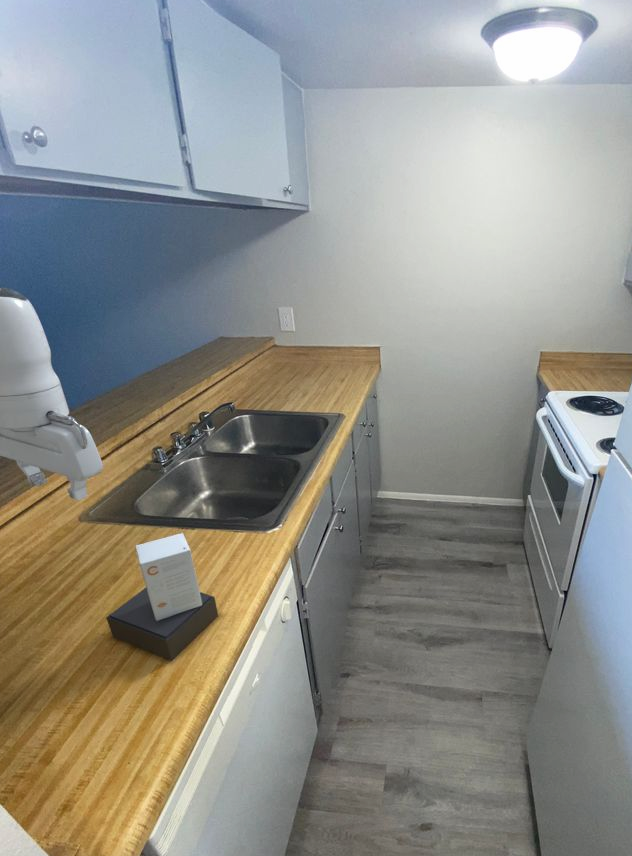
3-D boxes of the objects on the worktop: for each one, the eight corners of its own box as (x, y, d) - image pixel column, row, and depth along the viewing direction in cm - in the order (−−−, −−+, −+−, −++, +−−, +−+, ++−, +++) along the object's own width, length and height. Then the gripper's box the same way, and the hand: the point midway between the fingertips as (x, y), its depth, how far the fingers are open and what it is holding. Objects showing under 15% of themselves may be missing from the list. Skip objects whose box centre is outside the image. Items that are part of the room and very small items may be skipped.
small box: (195, 586, 93) (183, 531, 87) (203, 606, 88) (191, 549, 82) (150, 601, 89) (134, 544, 83) (155, 622, 84) (139, 564, 78)
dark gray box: (112, 637, 88) (105, 615, 85) (163, 596, 98) (158, 576, 95) (171, 661, 83) (165, 639, 81) (218, 616, 93) (214, 595, 91)
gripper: (100, 412, 66) (124, 497, 73) (9, 390, 73) (37, 469, 80) (55, 426, 61) (85, 516, 67) (-39, 401, 68) (-4, 485, 74)
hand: (58, 490), depth 74 cm, fingers open, 8 cm apart
